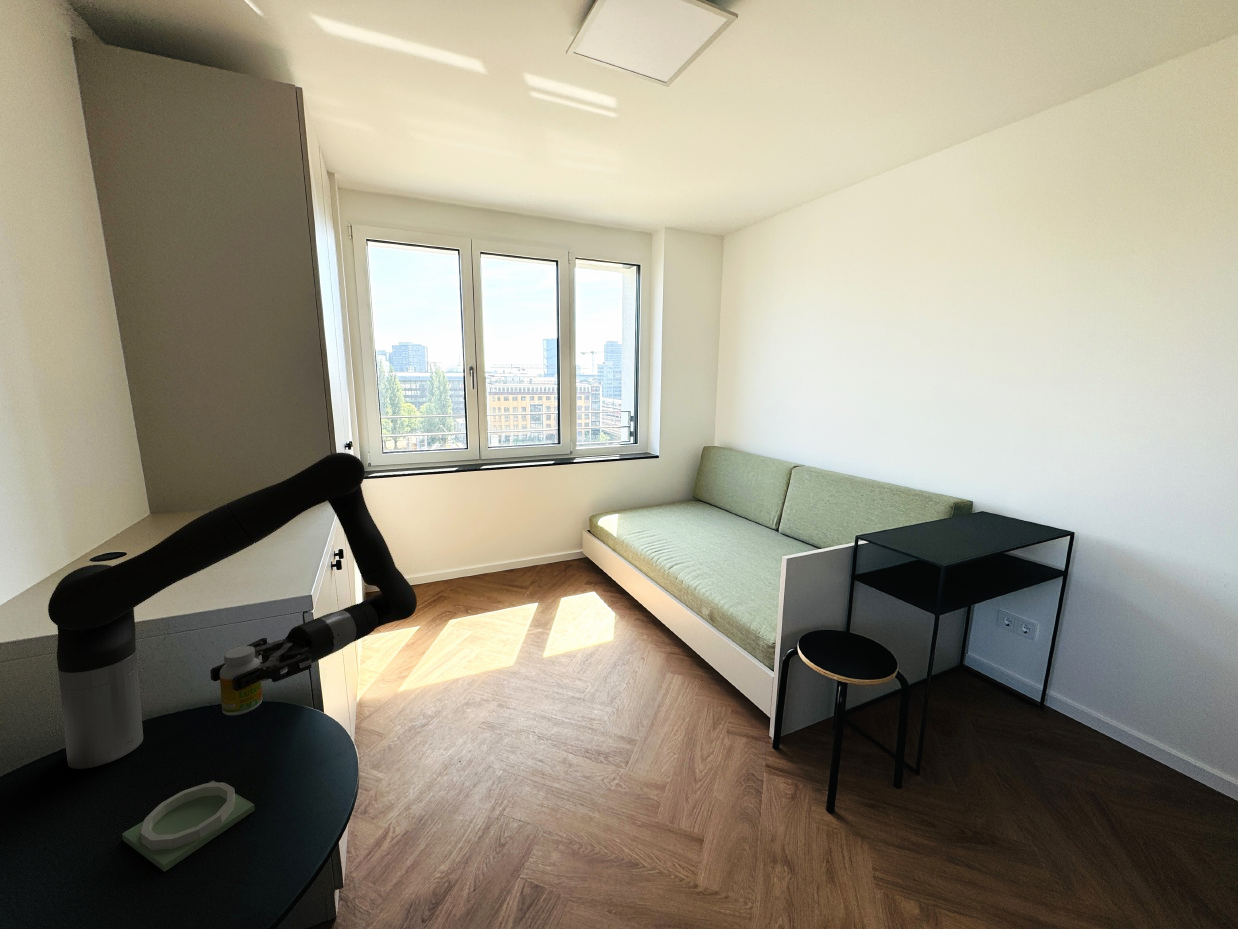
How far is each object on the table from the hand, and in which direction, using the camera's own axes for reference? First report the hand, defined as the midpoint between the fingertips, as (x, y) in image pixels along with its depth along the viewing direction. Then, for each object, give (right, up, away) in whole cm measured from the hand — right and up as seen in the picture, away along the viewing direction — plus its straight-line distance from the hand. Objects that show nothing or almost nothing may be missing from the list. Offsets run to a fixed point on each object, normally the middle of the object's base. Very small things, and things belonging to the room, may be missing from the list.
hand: (223, 680), depth 78 cm
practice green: (+1, -19, -6) cm, 20 cm away
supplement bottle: (+1, -6, +3) cm, 7 cm away
